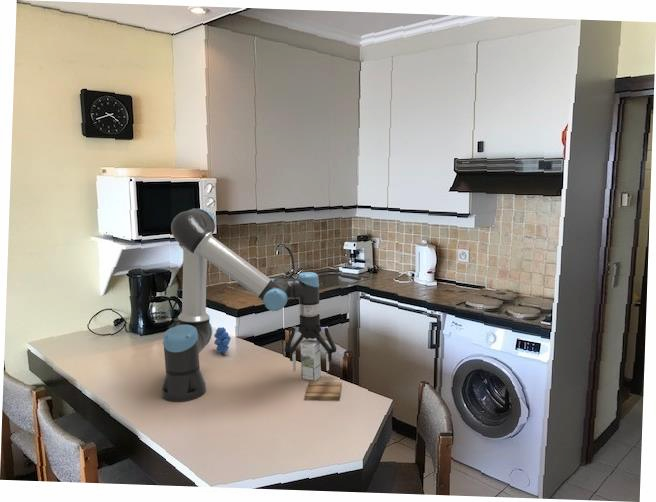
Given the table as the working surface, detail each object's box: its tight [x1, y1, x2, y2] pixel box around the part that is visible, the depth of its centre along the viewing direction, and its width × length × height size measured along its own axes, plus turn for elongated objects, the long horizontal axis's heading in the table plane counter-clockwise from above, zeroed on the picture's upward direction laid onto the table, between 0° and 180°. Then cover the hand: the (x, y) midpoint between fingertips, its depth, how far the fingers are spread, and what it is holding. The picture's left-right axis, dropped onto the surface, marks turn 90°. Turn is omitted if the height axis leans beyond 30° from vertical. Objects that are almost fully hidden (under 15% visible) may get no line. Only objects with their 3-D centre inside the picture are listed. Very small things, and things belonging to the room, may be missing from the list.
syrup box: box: [299, 338, 322, 382], centre depth 197 cm, size 6×6×14 cm
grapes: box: [213, 326, 232, 355], centre depth 225 cm, size 12×7×12 cm, turn 37°
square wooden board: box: [303, 381, 343, 402], centre depth 184 cm, size 12×12×2 cm
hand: (311, 369), depth 197 cm, fingers open, 12 cm apart
